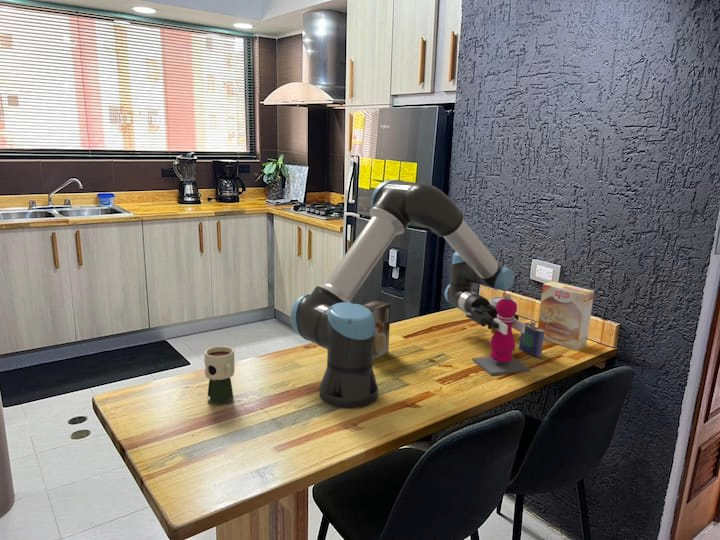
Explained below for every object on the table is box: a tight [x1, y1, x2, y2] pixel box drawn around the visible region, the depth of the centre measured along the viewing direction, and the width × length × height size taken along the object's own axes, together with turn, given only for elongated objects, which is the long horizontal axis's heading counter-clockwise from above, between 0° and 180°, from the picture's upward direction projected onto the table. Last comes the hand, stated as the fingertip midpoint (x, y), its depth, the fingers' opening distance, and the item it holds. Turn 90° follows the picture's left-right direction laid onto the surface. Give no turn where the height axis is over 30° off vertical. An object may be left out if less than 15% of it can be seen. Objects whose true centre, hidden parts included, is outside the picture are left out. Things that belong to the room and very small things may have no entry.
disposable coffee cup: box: [489, 296, 518, 335], centre depth 192 cm, size 10×10×12 cm
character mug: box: [203, 345, 235, 404], centre depth 136 cm, size 11×7×13 cm, turn 41°
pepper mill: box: [489, 293, 518, 362], centre depth 162 cm, size 7×7×20 cm
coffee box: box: [361, 299, 392, 361], centre depth 168 cm, size 9×6×16 cm
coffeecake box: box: [537, 280, 595, 351], centre depth 185 cm, size 15×7×20 cm, turn 42°
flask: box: [518, 320, 545, 359], centre depth 175 cm, size 9×3×11 cm, turn 25°
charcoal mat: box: [471, 355, 531, 376], centre depth 165 cm, size 13×11×1 cm
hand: (514, 329), depth 157 cm, fingers closed on pepper mill, 5 cm apart
